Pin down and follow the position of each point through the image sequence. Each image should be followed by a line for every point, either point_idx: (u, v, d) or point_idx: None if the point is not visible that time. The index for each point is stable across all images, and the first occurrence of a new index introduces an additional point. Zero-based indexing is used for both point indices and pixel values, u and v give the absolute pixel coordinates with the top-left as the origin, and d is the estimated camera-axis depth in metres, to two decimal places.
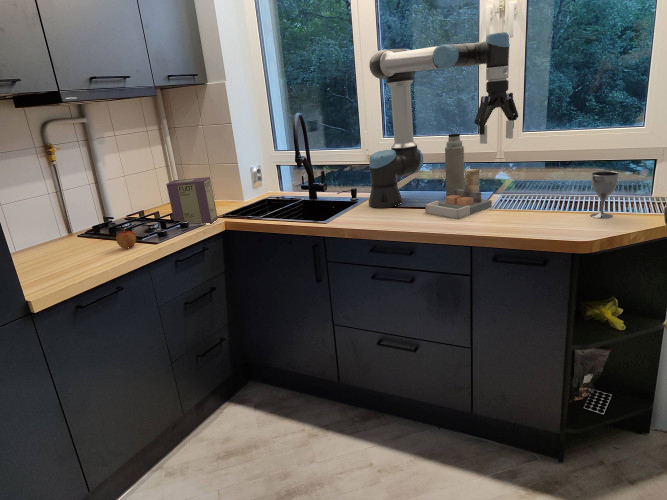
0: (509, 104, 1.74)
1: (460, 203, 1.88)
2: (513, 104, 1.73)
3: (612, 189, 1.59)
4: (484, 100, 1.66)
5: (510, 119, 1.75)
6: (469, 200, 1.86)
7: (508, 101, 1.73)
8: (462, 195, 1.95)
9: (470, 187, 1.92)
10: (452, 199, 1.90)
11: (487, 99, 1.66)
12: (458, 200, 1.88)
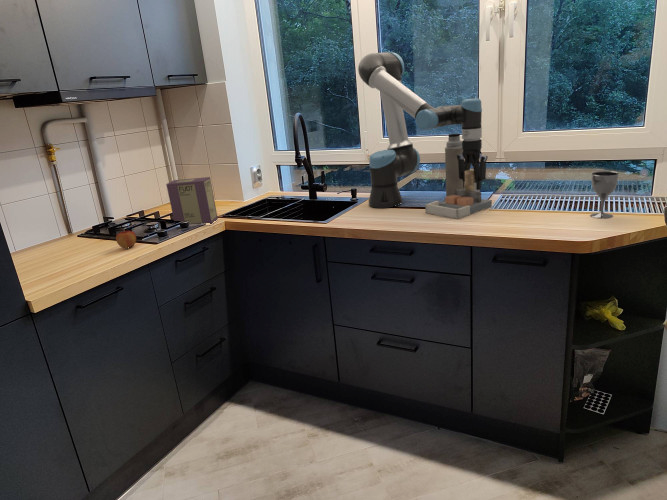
0: None
1: (460, 203, 1.88)
2: (480, 167, 1.87)
3: (612, 189, 1.59)
4: None
5: None
6: (469, 200, 1.86)
7: None
8: (462, 195, 1.95)
9: (470, 187, 1.92)
10: (452, 199, 1.90)
11: (458, 158, 1.94)
12: (458, 200, 1.88)
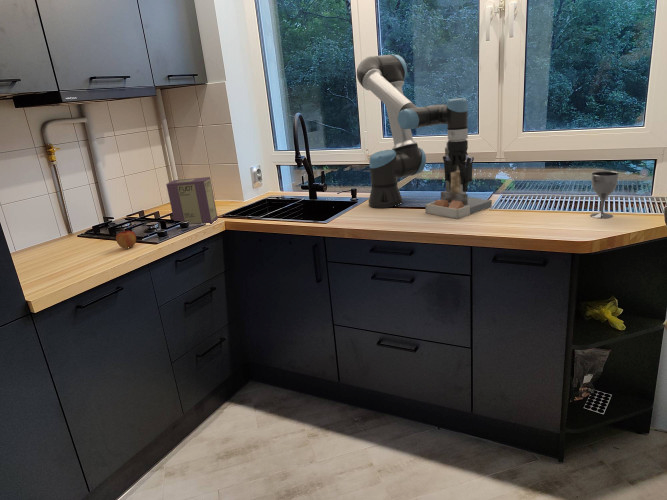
0: None
1: None
2: (466, 168, 1.82)
3: (612, 189, 1.59)
4: None
5: None
6: (459, 207, 1.83)
7: None
8: (448, 197, 1.90)
9: (456, 189, 1.87)
10: None
11: (444, 159, 1.89)
12: None
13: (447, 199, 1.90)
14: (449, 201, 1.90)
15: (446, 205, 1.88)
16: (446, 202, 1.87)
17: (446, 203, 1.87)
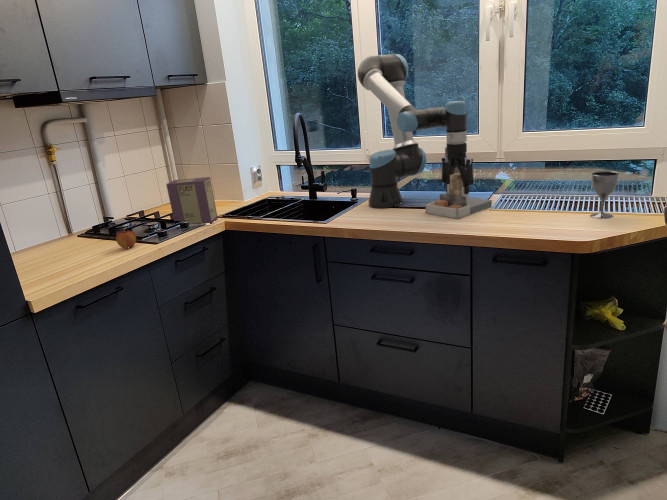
0: None
1: None
2: (467, 170, 1.81)
3: (612, 189, 1.59)
4: None
5: None
6: None
7: None
8: (447, 200, 1.90)
9: (455, 191, 1.87)
10: None
11: (443, 160, 1.89)
12: None
13: None
14: (448, 204, 1.90)
15: (446, 205, 1.88)
16: (446, 202, 1.87)
17: (446, 203, 1.87)
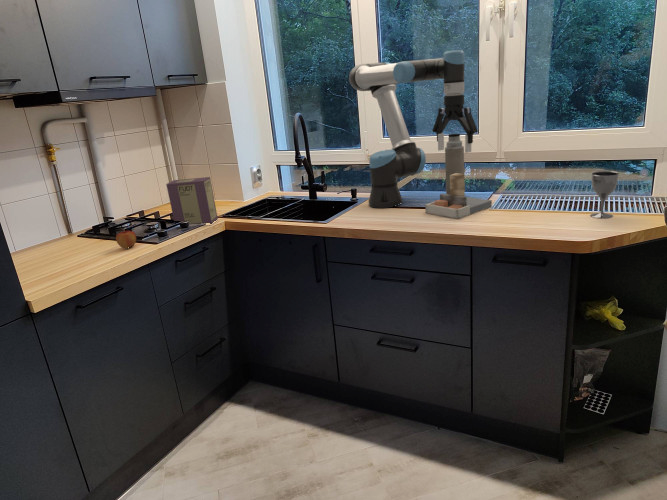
0: None
1: None
2: (467, 119, 1.76)
3: (612, 189, 1.59)
4: None
5: None
6: None
7: None
8: (447, 200, 1.90)
9: (455, 191, 1.87)
10: None
11: (439, 111, 1.85)
12: None
13: None
14: (448, 204, 1.90)
15: (446, 205, 1.88)
16: (446, 202, 1.87)
17: (446, 203, 1.87)
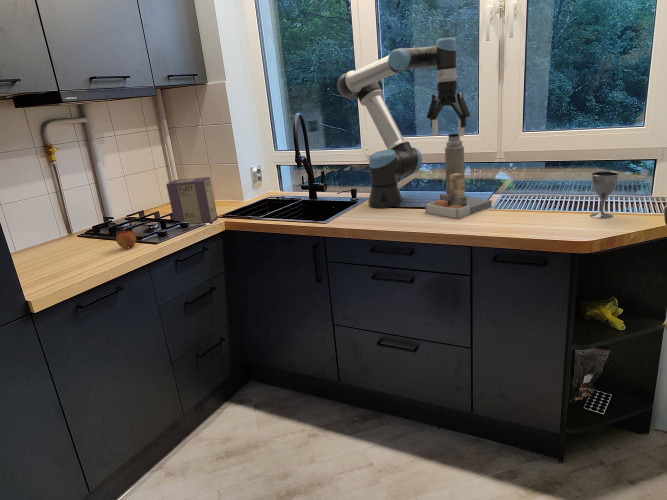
0: None
1: None
2: (460, 104, 1.82)
3: (612, 189, 1.59)
4: None
5: None
6: None
7: None
8: (447, 200, 1.90)
9: (455, 191, 1.87)
10: None
11: (433, 97, 1.92)
12: None
13: None
14: (448, 204, 1.90)
15: (446, 205, 1.88)
16: (446, 202, 1.87)
17: (446, 203, 1.87)
